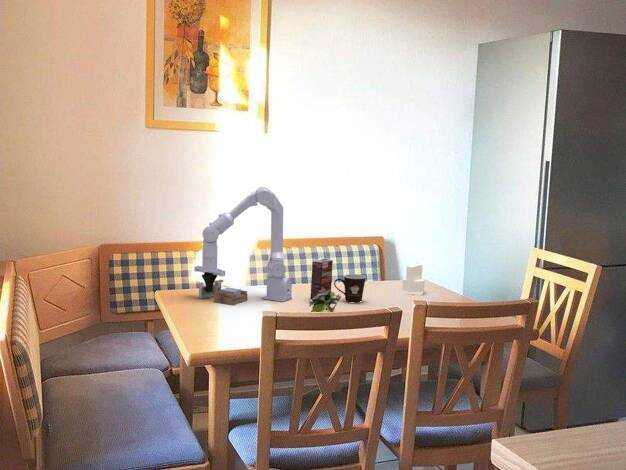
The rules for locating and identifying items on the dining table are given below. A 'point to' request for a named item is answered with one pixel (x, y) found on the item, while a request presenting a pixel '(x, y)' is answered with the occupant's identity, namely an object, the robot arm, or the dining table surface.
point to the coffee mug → (353, 287)
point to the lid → (231, 291)
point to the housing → (230, 298)
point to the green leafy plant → (324, 301)
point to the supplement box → (321, 276)
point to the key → (205, 294)
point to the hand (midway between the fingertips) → (209, 292)
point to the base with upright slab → (413, 279)
